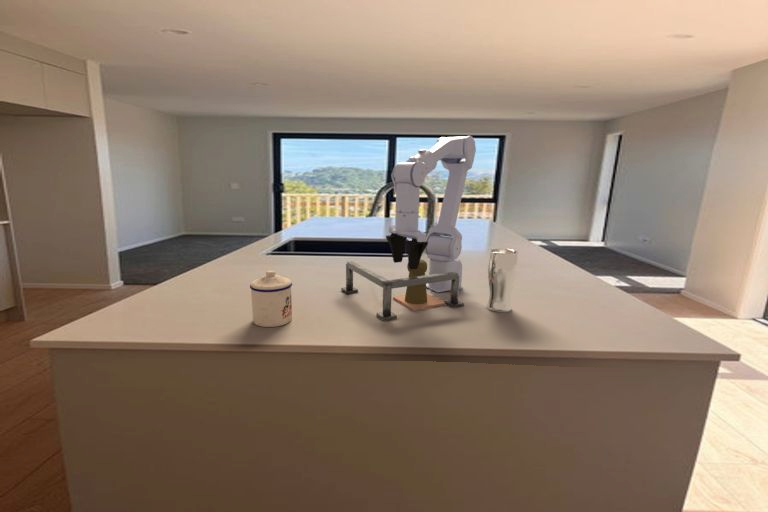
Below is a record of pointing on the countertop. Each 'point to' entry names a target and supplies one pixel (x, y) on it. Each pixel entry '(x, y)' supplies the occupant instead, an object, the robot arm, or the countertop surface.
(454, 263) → the robot arm
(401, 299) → the mat
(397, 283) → the bent rail
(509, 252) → the beer glass
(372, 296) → the countertop surface
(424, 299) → the cork
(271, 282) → the teacup with lid
